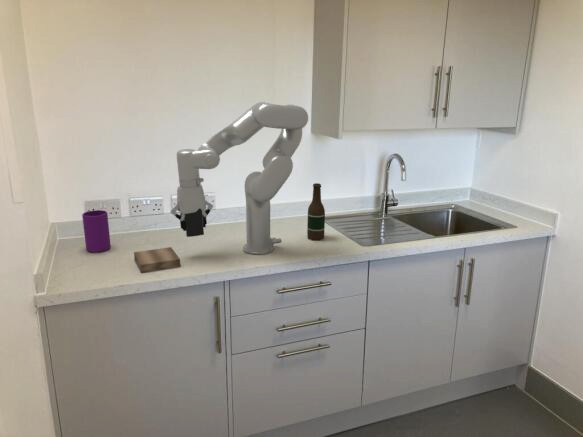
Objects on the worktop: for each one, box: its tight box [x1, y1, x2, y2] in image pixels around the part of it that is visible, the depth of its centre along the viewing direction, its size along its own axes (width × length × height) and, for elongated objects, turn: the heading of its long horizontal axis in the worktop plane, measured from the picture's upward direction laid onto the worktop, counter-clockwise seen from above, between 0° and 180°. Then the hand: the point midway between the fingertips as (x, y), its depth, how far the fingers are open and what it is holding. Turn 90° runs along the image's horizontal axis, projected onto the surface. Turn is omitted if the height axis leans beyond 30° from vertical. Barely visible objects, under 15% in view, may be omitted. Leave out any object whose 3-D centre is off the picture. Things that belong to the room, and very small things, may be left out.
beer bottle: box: [306, 182, 326, 242], centre depth 210 cm, size 8×8×24 cm
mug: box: [81, 209, 111, 253], centre depth 198 cm, size 9×16×15 cm, turn 26°
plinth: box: [133, 246, 181, 274], centre depth 183 cm, size 14×14×3 cm
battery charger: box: [184, 208, 205, 238], centre depth 187 cm, size 7×4×11 cm, turn 109°
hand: (194, 227), depth 188 cm, fingers closed on battery charger, 7 cm apart
